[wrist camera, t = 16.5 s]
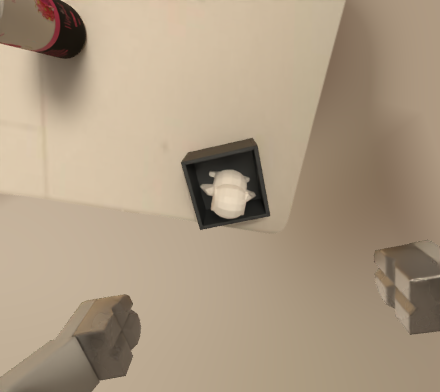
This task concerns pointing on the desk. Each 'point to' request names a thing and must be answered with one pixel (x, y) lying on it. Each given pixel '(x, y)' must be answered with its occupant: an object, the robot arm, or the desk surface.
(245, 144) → the dark grey hollow box
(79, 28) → the beverage can
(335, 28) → the desk surface
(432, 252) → the robot arm
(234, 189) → the figurine
